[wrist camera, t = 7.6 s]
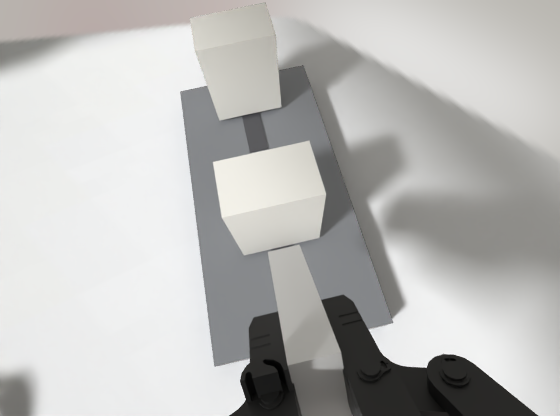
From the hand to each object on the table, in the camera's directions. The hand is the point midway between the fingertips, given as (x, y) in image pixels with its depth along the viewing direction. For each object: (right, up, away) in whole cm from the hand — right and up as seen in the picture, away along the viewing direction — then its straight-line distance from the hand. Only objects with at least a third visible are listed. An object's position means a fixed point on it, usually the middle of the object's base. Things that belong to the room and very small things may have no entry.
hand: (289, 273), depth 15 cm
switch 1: (-3, +13, +14) cm, 19 cm away
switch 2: (-1, +2, +9) cm, 9 cm away
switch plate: (-2, +5, +13) cm, 14 cm away
